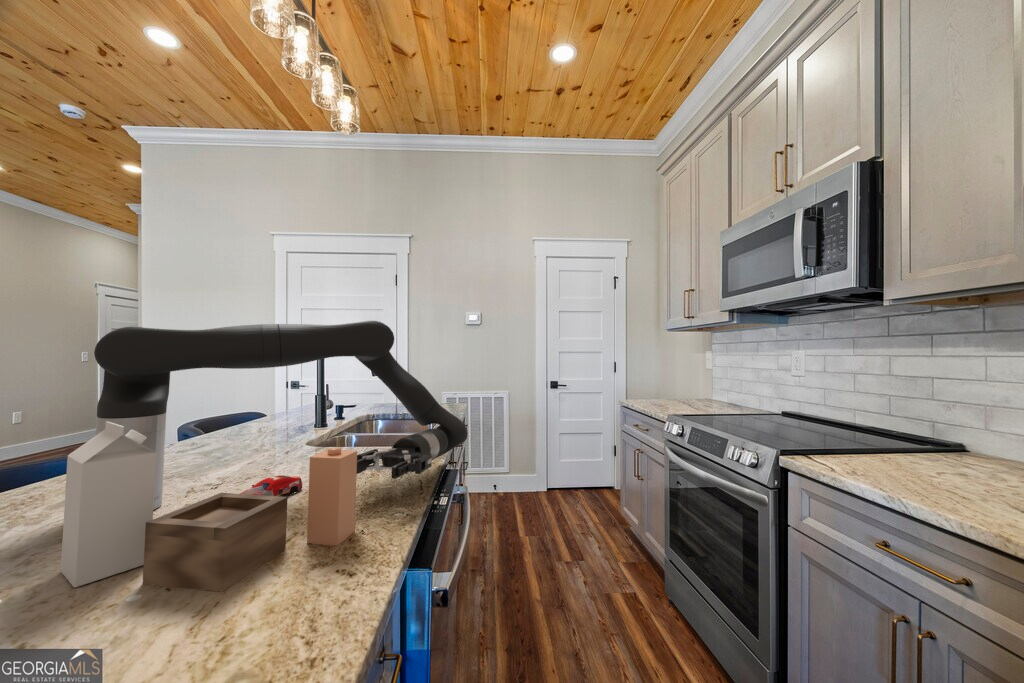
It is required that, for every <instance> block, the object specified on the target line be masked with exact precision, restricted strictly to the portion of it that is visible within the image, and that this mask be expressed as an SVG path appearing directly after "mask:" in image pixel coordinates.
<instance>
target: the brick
mask: <svg viewBox="0 0 1024 683" xmlns="http://www.w3.org/2000/svg"><path fill="white" fill-rule="evenodd" d="M357 455H358V451H357V450H343V449H342V447H339V446H338V447H337V446H336V447H329V448H327V449H326V450H324V451H321V452H319V453H317V454H314V455H312V456H310V457H309V467H308V468H309V469H308V471H309V473H308V474H309V475H308V497H307V498H308V499H307V501H308V502H307V525H306V526H307V527H306V528H307V529H306V531H307V532H306V544H309V543H312V544H311V545H321V544H323V545H324V546H336V547H337V546H338V547H339V545H341V544H342V543H343V542H344V541H346V540H347V539H348V538H349V537H350V536H351V535H352V534H354V533H355V532H356V503H357V502H356V501H357V497H356V496H357V475H358V474H357Z"/></svg>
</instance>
